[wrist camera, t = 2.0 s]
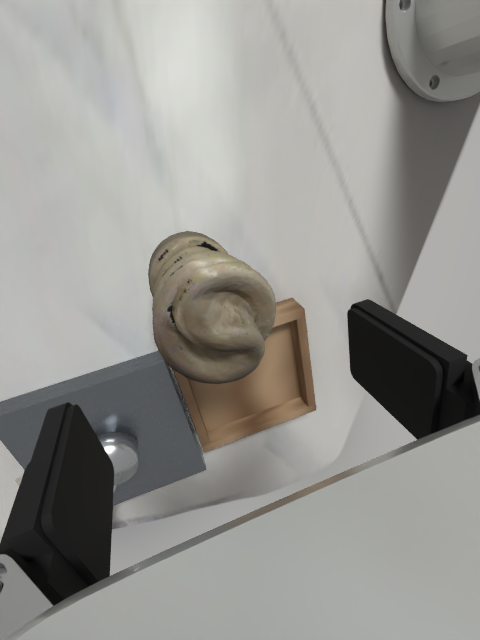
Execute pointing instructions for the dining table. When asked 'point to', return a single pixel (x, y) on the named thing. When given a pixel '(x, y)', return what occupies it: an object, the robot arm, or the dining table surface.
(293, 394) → the tray
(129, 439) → the crank
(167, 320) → the light bulb
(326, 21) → the dining table surface
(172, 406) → the crank base
